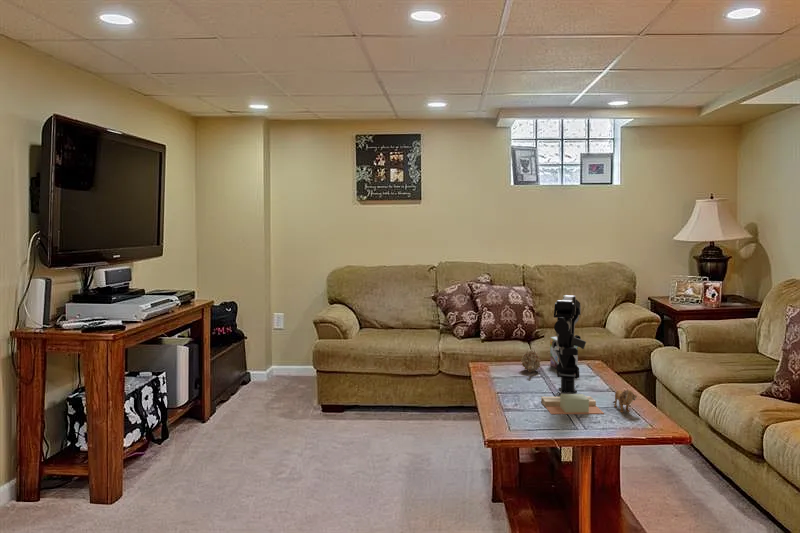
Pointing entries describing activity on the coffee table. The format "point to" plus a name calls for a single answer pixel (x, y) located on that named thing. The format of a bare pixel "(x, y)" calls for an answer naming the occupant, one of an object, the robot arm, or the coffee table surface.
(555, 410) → the rubber mat
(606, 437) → the coffee table surface
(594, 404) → the birch board
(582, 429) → the coffee table surface
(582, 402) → the green block
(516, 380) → the coffee table surface
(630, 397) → the lion figurine
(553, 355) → the snack box
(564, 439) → the coffee table surface
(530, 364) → the pine cone
